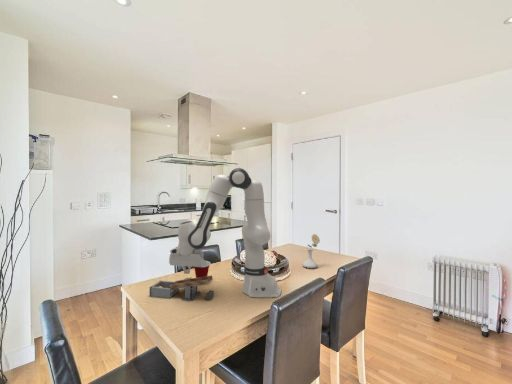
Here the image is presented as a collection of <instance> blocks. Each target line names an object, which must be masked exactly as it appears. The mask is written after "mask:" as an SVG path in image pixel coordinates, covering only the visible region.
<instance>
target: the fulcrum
mask: <svg viewBox="0 0 512 384" xmlns="http://www.w3.org/2000/svg"><path fill="white" fill-rule="evenodd" d="M198 287H199V286H192V287H191V286H189V285H186V286H185V288H184V296H183V297H182V298H181V301H185V302H186V301H187V302H193V301H194V300H196V298H198V296H199V295H200V294H201V293H202V292H201V291H199V290H198Z"/></svg>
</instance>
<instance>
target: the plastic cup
mask: <svg viewBox="0 0 512 384" xmlns="http://www.w3.org/2000/svg"><path fill="white" fill-rule="evenodd" d="M210 266H211V262H210V261H208V260H204V265H203V266H202V267H193V269H194V273H195V278H199V277H205V276H209V275H208V273H209V270H210V269H209V268H210Z"/></svg>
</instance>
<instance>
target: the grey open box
mask: <svg viewBox="0 0 512 384" xmlns="http://www.w3.org/2000/svg"><path fill="white" fill-rule="evenodd" d="M174 284H176V283H175V281H168V280H159V281H157V282H156V283H154V284H152V285H151V286H149V297H151V298H153V297H154V298H162V299H171V298H173V296H175V295H176V294H177V293H178V292H180V288H179V289H172V290H171V288H170V285H174ZM159 286H162V287H163V288H161V287H159Z"/></svg>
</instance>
